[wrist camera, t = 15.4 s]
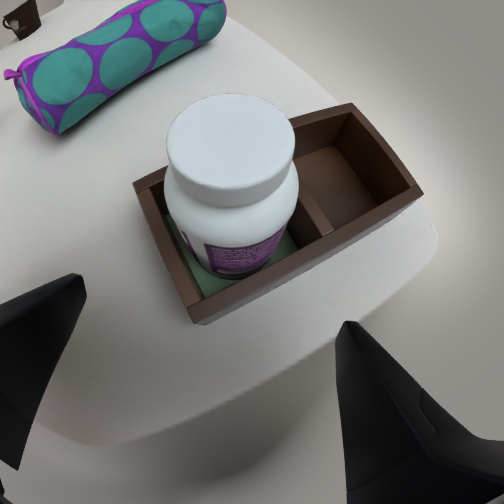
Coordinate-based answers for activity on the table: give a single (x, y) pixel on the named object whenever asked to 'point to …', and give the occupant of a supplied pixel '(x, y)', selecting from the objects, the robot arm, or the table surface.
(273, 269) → the compartment box
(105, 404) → the table surface
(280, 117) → the pill bottle
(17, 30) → the coffee mug
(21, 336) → the robot arm
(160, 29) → the pencil case
